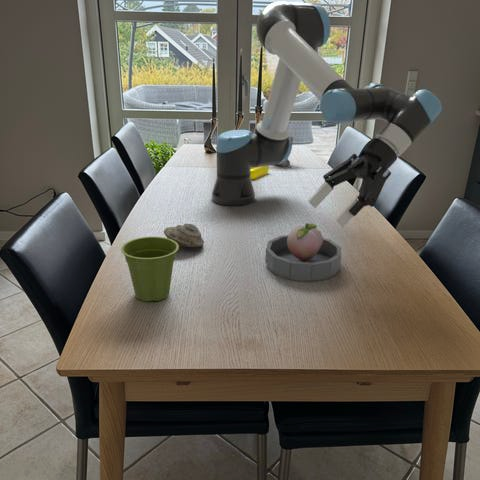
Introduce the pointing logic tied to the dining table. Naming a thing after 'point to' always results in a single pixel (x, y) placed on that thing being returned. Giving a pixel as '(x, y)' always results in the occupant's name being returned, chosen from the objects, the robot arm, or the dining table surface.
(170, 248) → the plant pot
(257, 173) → the element tile
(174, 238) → the fossilized seashell
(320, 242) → the decorative fruit
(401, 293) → the dining table surface
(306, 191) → the dining table surface
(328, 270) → the bowl
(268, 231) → the dining table surface
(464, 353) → the dining table surface
